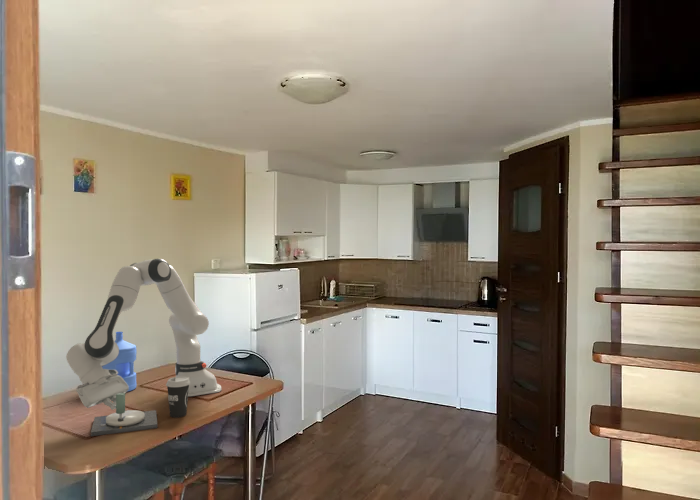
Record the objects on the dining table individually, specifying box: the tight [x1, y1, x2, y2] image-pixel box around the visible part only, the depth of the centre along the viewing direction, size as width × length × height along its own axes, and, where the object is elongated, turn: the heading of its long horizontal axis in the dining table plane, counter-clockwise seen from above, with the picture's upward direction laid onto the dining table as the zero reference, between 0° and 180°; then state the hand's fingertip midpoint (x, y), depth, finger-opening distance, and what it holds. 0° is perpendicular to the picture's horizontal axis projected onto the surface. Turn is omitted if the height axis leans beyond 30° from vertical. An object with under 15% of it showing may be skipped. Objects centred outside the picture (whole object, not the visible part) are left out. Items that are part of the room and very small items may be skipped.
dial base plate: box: [90, 409, 158, 437], centre depth 202 cm, size 23×18×2 cm
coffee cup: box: [165, 376, 190, 419], centre depth 213 cm, size 10×10×15 cm
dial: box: [106, 393, 145, 426], centre depth 202 cm, size 14×14×12 cm
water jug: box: [102, 331, 137, 393], centre depth 250 cm, size 16×16×28 cm
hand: (116, 407), depth 197 cm, fingers closed
